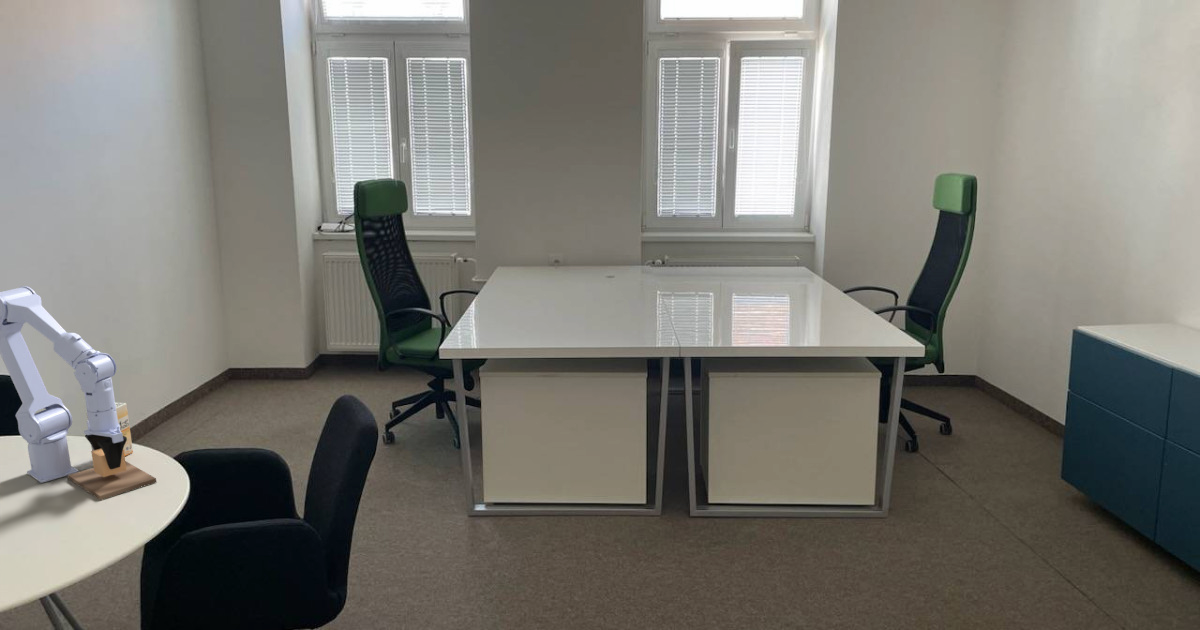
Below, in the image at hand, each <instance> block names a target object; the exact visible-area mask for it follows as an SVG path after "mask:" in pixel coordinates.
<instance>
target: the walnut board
mask: <svg viewBox="0 0 1200 630" xmlns="http://www.w3.org/2000/svg"><path fill="white" fill-rule="evenodd" d="M125 463H126V469H127V470H126V471H122V472H119V473H116V474H113V475H109V476H106V477H102V476H101V475H99V474H97V473H96V472H94V467H91V468H87V469H85V470H81V471H78V472H77V473H74V474H70V475H67V477H68V480H69V481H71V482H72V481H73V482H72V483H74V484H75V483H76V485H77V486H78V485H79V487H80V488H81V487H82V488H81V489H83V490H84V489H85V491H86V492H87V491H88V493H89V494H91V495H92V496H94V497H95V498H97V499H98V500H100V501H103V500H106V499H109V498H112V497H115V496H118V494H119V495H121V493H122V494H124V493H123V492H125V493H127V492H126V491H128V492H130V490H131V491H134V490H136V489H135V488H137V489H140V488H142V487H141V486H144V485H147V486H149V485H148V484H150V485H153V484H156V483H157V477H155V476H153V475H151V474H149V473H147V472H146V471H143V470H142V469H141V468H139V467H137V466H135V465H134V464H131V463H129V462H128V461H126V460H125ZM155 482H156V483H155ZM152 483H153V484H152ZM139 487H140V488H139ZM144 487H145V486H144ZM133 489H134V490H133ZM111 496H112V497H111ZM105 498H106V499H105ZM102 499H103V500H102Z"/></svg>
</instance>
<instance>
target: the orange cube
mask: <svg viewBox="0 0 1200 630" xmlns="http://www.w3.org/2000/svg"><path fill="white" fill-rule="evenodd" d="M90 453H91V457H92V464H93V468H94V472H96V473H97V474H99V475H101V476H102V477H106V476H109V475H113V474H116V473H119V472H122V471H126V470H127V469H126V463H125V461H126V458H125V457H126V456H124V450H123V451H122V457H121V465H120V467H118V468H115V469H110V468H109V466H108V464H107V461H106V457H105V455H104V452H103V450H102V449H97V450H94V451H92V450H91V452H90Z"/></svg>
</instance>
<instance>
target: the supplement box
mask: <svg viewBox="0 0 1200 630" xmlns="http://www.w3.org/2000/svg"><path fill="white" fill-rule="evenodd" d="M115 404H116V412H117V418H118V423H119V425H120V431H121V432H122V434H123V436H125V437H127V441H126V443H125V445H124V448H123V450H124V456H125V457H126V456H129V455H130V454H133V453H134V450H133V443H132V433H131V428H130V421H129V419H130V418H129V413H128V412H129V411H128V405H127V403H126V402H115ZM86 417H87V420H86V421H88V414H87V413H86ZM90 445H91V444H90ZM91 451H94V449H93V447H92V445H91Z"/></svg>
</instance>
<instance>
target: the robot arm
mask: <svg viewBox="0 0 1200 630" xmlns="http://www.w3.org/2000/svg"><path fill="white" fill-rule="evenodd" d="M42 303H43V301H42V298H41V296H40V295H39V294H37V293H36V291H34V289H32V288H31V287H30V286H26V285H23V286H19V287H17V288H12V289H8V290H4V291H0V357H1V358H2V361H3V363H4V366H5V367H6V370H7V372H8V374H9V376H10V378H11V381H12V383H13V384H14V385H13V386H14V387H15V390H16V391H17V392H16V393H18V396H19V398H20V400H21V403H22V404H21V405H20V407H19V408H18V410H17V412H16V413H15V418H16V420H17V425H18V426H17V427H18V432H19V435H20V436H21V438H22V439H23V440H24V441H25V442H26V443H27V452H28V457H29V463H30V469H29V470H27V471H26V473H27V474H28V475H29V476H30V477H33V479H35V480H37V481H38V482H39V483H41V484H43V483H45V482H50V481H53V480H56V479H59V478H64V477H66V476H67V477H68V475H70V474H74V473H77V472H79V470H78V469H77V468H75V466H72V463H71V456H70V452H69V446H68V445H69V444H68V438H67V435H68V434H69V429H70V428H71V427H72V424H73V415H72V413H71V412H70V410H69V409H68V408H67V407H66V406H65V405H64V403H63V401H62V399H61V398H60V397H57V396H55V395H53V394H50V393H49V392H48V390H47V388H46V386H45V383H44V381H43V378H42V376H41V374H40V372H39V370H38V367H37V366H36V363H35V361H34V359H33V356H32V355H31V352H30V349H29V347H28V344H27V343H26V340H25V339H24V337H23V334H22V332H21V331H22V328H23V326H24V325H25V324H26V323H27V324H28V325H30V326H31V327H32V328H34V329H35V330H36V331H38V332H39V333H40V334H42V335H43V336H44V337H45V338H46V339H48V340H49V341H50V342H51V343H53V351H54V353H56V354H57V355H58V356H59V357H61V359H62V360H63V361H65V362H66V363H67V364H68V365H69V366H70V367H71V368H72V369H74V370H75V371H74V372H73V374H74V377H75V379H76V380H77V382H78V384H79V385H80V390H82V392H83V394H84V400H85V407H86V415H87V414H88V420H86V425H87V429H86V430H83V433H84V436H85V439H86V440H87V441H88V443H89V444H90V445H92V447H93V449H94V450H97V449H102V450H103V452H104V455H105V457H106V461H107V464H108V466H109V468H110V469H115V468H118V467H120V465H121V457H122V451H123V448H124V445H125V443H126V441H127V437H125V436H123V434H122V432H121V431H120V425H119V423H118V418H117V412H116V404H115V403H116V399H115V392H114V384H113V380H112V379H113V378H112V377H114V376H115V374H116V373H117V364H116V361H115V359H114V358H113V357H112V356H111V355H110V354H109V353H107V352H101V351H99V350H95V349H94V348H93V346H91V345H90V344H89V343H88V342H86V340H84V339H83V338H82V336H80V334H78V333H76V332H67V331H66V329H64V328H63V327H62V326H61V325H60V324H59V322H58V321H57V320H56V319H55V318H54V317H53V315H51V314H50V313H49V312H48V311H47V309H46V308H44V306H43V304H42ZM42 409H43V410H42ZM40 410H41V411H40ZM92 447H91V448H92Z"/></svg>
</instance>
